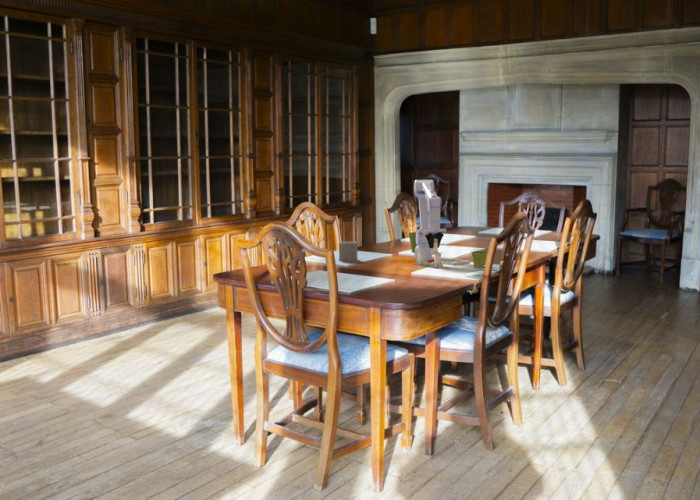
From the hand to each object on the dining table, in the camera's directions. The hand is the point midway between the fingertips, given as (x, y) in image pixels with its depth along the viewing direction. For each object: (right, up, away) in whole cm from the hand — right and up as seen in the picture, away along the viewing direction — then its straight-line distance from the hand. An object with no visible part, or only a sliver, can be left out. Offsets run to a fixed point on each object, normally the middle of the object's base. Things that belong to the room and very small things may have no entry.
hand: (434, 247), depth 364 cm
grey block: (-43, -7, +32) cm, 54 cm away
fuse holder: (-3, -11, 0) cm, 11 cm away
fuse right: (+1, -10, -5) cm, 11 cm away
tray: (+11, -9, +8) cm, 16 cm away
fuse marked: (0, -2, 0) cm, 2 cm away
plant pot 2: (+23, -11, -4) cm, 25 cm away
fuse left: (-6, -8, +4) cm, 11 cm away
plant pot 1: (-3, -2, +61) cm, 61 cm away
